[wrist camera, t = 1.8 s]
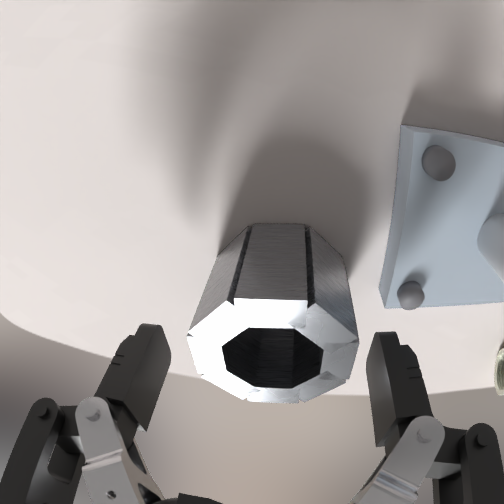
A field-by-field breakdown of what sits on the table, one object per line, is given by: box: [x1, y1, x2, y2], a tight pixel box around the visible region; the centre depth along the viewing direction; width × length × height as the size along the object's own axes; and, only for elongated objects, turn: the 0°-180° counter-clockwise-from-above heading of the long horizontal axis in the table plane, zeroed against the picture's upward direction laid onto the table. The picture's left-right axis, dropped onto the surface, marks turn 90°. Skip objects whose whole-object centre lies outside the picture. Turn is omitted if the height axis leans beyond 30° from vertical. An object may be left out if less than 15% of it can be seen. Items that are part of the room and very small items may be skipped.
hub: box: [187, 224, 359, 403], centre depth 13 cm, size 6×6×5 cm
